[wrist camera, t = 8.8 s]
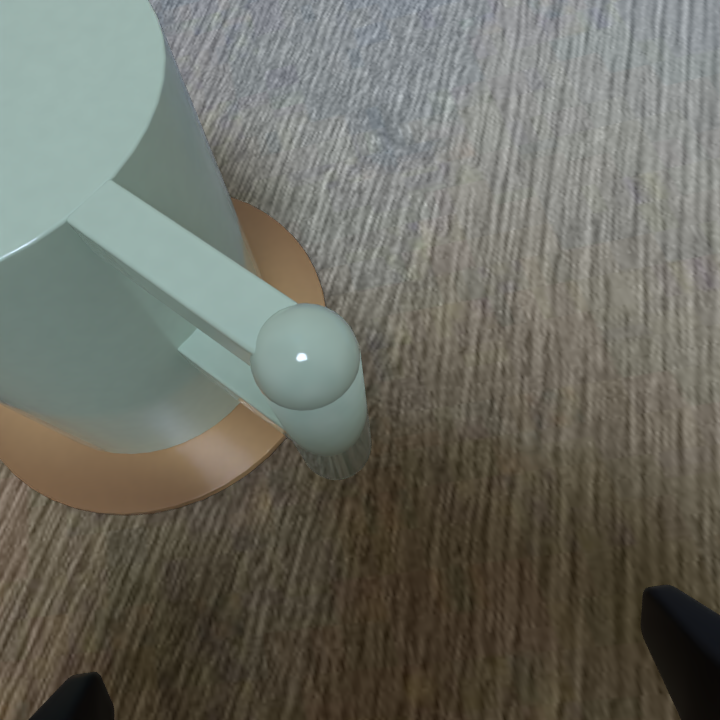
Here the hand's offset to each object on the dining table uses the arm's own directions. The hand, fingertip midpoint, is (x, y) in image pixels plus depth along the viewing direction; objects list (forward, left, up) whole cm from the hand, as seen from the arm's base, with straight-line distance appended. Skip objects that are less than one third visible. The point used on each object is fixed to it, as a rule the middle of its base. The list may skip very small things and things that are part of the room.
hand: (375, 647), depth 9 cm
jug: (+7, +7, -7) cm, 12 cm away
